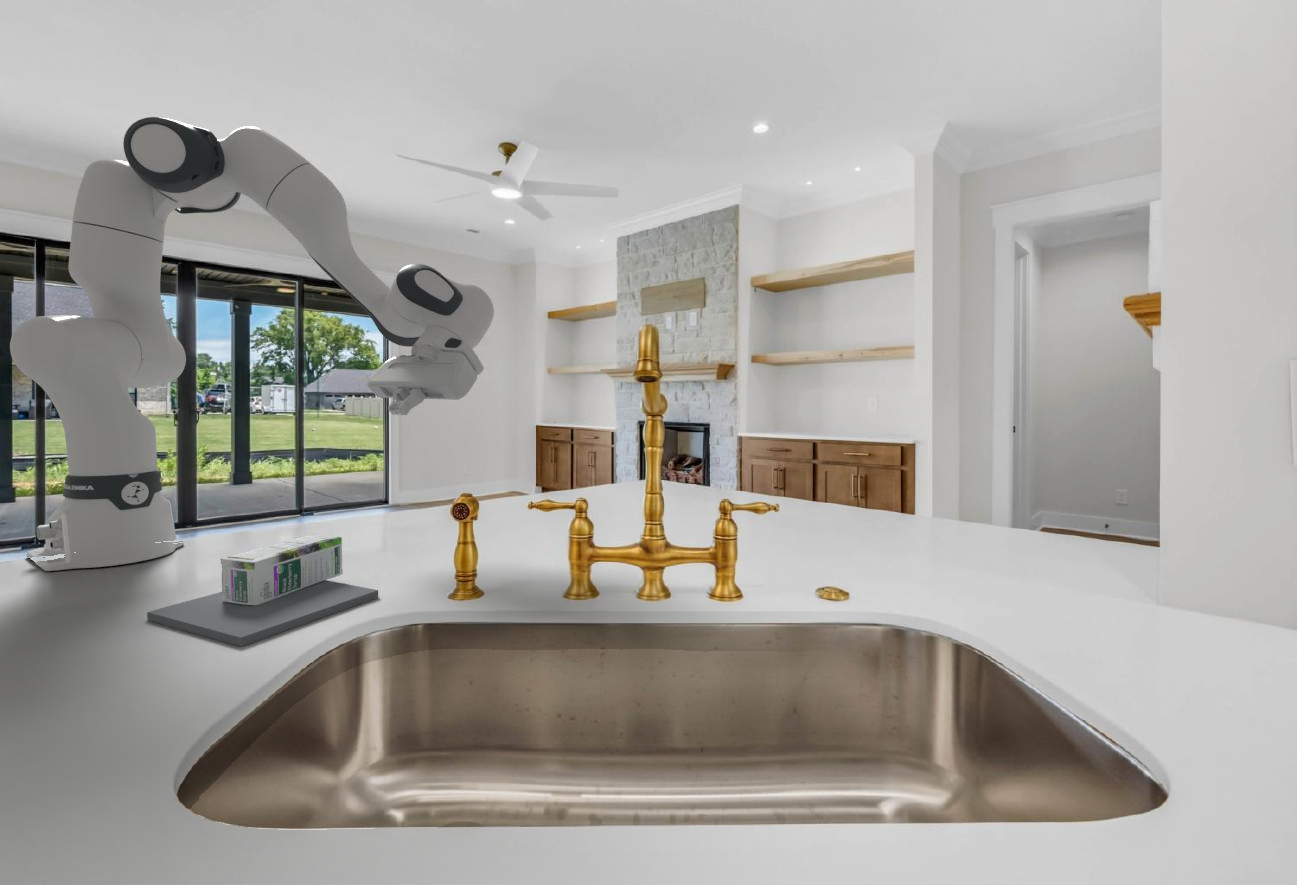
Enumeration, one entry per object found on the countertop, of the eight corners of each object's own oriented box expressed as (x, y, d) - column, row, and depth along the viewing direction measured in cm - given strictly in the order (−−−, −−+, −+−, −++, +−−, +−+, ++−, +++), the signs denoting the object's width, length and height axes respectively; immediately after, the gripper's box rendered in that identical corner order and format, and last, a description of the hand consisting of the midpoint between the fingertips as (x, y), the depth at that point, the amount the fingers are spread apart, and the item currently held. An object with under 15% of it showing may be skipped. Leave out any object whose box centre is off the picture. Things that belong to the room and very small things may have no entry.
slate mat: (147, 620, 74) (146, 611, 74) (289, 579, 90) (289, 573, 90) (241, 646, 66) (240, 637, 66) (378, 597, 82) (378, 590, 82)
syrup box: (344, 574, 89) (257, 607, 75) (310, 571, 91) (219, 602, 77) (343, 536, 89) (255, 561, 75) (309, 533, 90) (217, 558, 76)
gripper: (385, 343, 112) (340, 397, 104) (474, 341, 103) (432, 400, 95) (405, 368, 116) (363, 422, 108) (491, 368, 108) (453, 427, 100)
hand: (396, 412), depth 102 cm, fingers closed
